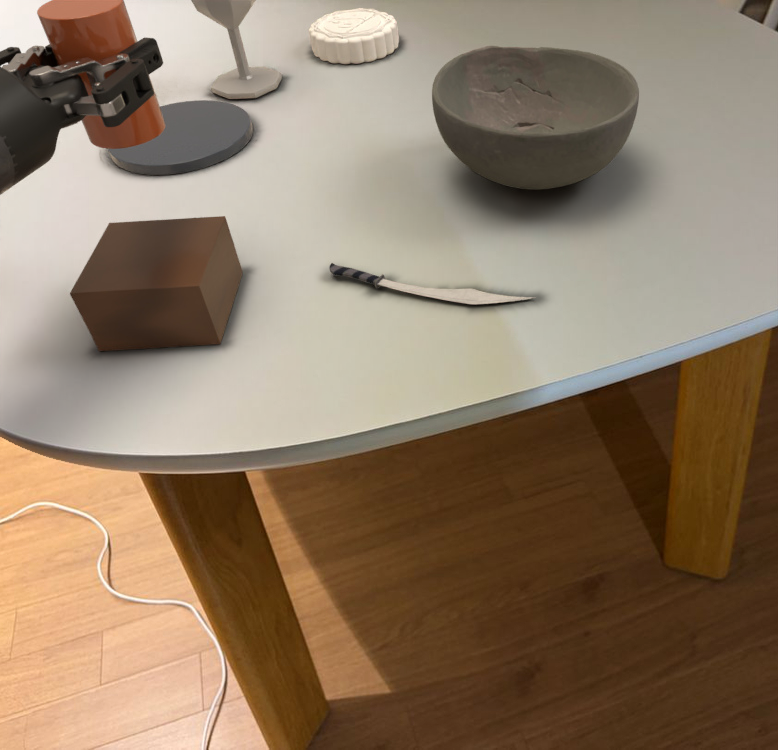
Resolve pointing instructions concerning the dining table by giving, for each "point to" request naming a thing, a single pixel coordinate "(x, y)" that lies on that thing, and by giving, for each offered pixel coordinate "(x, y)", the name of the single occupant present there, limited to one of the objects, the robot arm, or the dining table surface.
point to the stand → (159, 284)
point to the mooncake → (354, 36)
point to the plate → (189, 139)
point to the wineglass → (237, 52)
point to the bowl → (534, 113)
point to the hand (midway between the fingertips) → (119, 47)
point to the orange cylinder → (98, 41)
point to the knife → (445, 294)
